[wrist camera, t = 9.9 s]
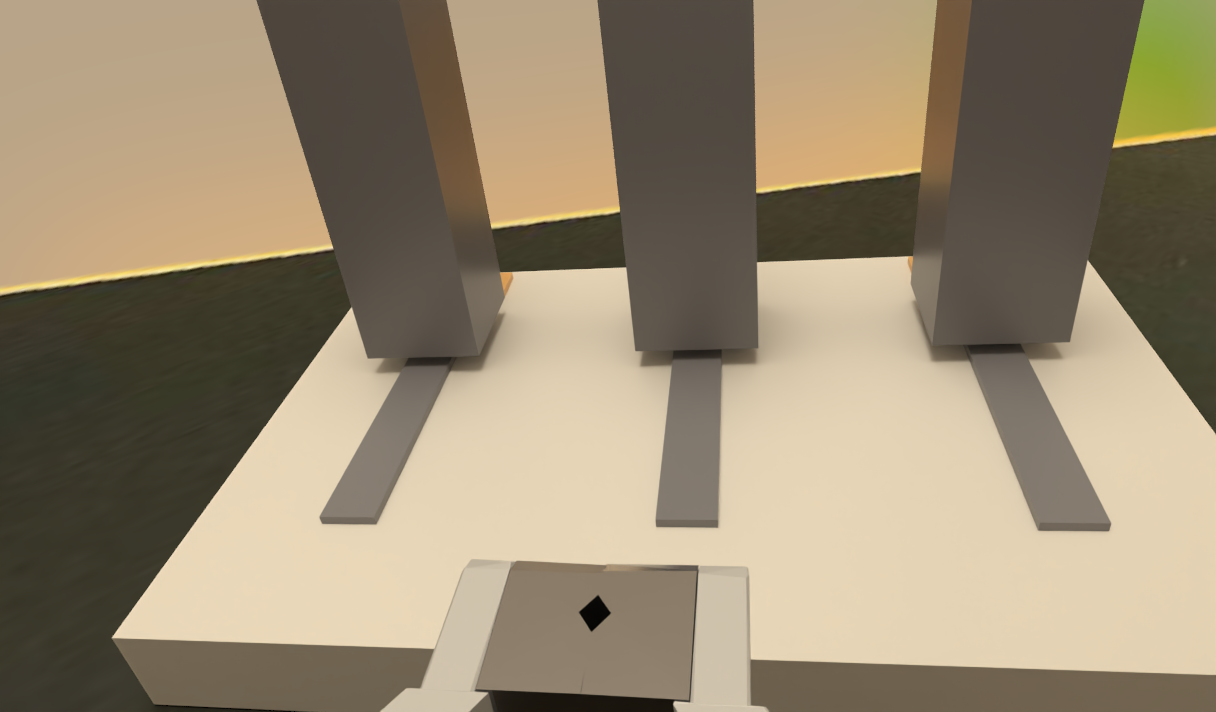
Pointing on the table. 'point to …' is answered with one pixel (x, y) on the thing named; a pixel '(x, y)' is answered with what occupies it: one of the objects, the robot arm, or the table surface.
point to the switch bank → (724, 504)
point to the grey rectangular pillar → (685, 168)
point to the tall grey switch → (1016, 163)
